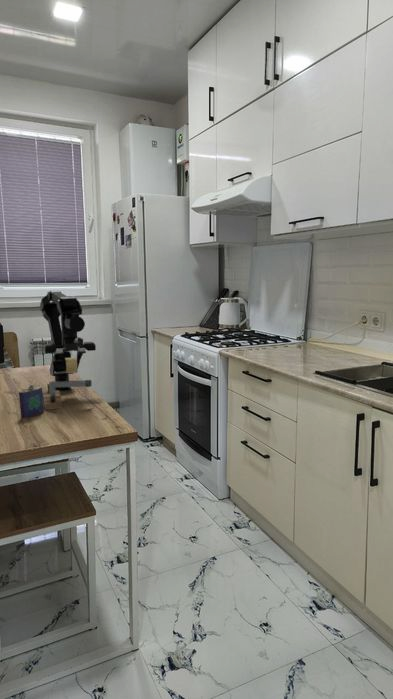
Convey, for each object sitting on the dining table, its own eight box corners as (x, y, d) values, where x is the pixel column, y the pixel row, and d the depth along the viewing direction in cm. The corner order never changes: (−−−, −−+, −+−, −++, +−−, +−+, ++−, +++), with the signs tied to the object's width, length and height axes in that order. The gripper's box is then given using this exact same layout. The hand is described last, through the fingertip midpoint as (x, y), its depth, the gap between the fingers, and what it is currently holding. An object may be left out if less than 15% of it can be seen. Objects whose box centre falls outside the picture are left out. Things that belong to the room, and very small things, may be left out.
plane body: (43, 396, 178) (42, 384, 177) (59, 395, 180) (58, 383, 179) (44, 409, 160) (43, 395, 159) (62, 407, 162) (61, 394, 161)
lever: (92, 398, 165) (91, 379, 164) (91, 400, 163) (91, 381, 162) (51, 400, 164) (50, 381, 162) (49, 402, 161) (48, 382, 160)
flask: (40, 410, 159) (38, 381, 157) (46, 412, 157) (44, 381, 156) (19, 418, 151) (16, 386, 149) (25, 419, 149) (23, 387, 148)
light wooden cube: (65, 370, 179) (64, 357, 178) (76, 369, 180) (75, 357, 180) (66, 373, 174) (66, 360, 173) (77, 372, 175) (76, 359, 174)
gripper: (44, 333, 164) (47, 375, 166) (96, 330, 170) (98, 371, 173) (43, 329, 174) (45, 369, 177) (92, 327, 180) (94, 366, 183)
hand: (71, 369), depth 177 cm, fingers closed on light wooden cube, 4 cm apart
